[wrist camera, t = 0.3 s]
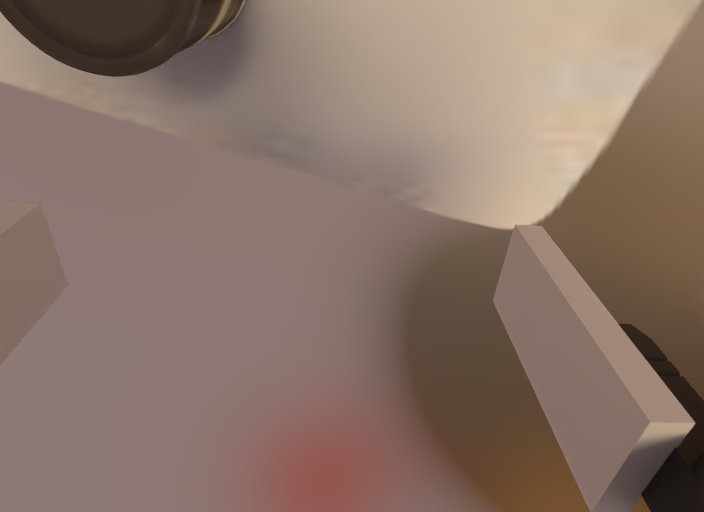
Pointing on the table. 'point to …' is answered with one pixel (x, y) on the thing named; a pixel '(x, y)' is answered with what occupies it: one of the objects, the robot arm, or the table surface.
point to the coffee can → (118, 30)
